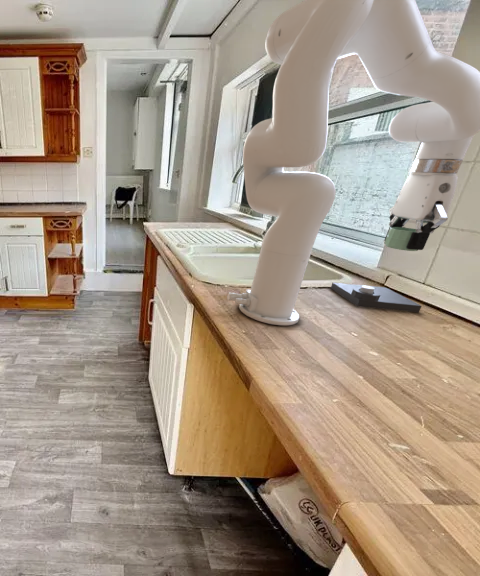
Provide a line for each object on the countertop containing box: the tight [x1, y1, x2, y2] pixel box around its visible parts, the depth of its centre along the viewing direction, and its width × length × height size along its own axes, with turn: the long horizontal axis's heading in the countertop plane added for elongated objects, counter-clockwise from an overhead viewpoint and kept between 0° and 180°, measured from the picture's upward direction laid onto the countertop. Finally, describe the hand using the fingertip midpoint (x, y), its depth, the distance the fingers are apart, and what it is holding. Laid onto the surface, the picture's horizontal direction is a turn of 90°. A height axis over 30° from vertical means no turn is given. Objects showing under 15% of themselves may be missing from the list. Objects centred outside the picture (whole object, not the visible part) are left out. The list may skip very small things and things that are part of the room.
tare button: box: [360, 285, 375, 294], centre depth 79 cm, size 3×3×2 cm
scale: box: [330, 282, 422, 313], centre depth 83 cm, size 14×13×4 cm
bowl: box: [383, 226, 419, 252], centre depth 75 cm, size 7×7×5 cm
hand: (402, 245), depth 76 cm, fingers closed on bowl, 6 cm apart
